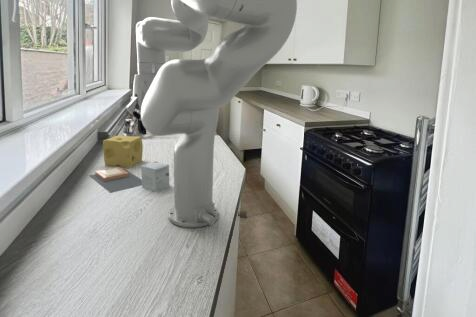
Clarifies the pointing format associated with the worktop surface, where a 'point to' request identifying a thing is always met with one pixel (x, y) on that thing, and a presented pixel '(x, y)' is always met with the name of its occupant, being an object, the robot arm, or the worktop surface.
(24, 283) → the worktop surface
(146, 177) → the skincare box
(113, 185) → the mat
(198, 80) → the robot arm
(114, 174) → the tile
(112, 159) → the cheese
